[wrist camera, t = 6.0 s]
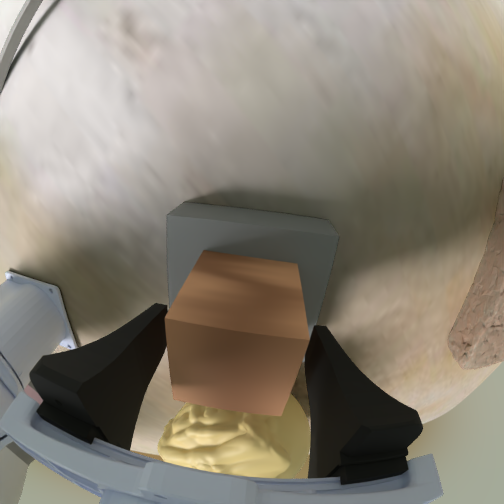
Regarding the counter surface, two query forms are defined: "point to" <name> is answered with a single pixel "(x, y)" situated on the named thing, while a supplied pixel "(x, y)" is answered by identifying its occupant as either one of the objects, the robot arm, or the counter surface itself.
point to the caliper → (16, 36)
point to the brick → (483, 306)
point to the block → (237, 334)
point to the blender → (15, 463)
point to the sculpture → (238, 441)
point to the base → (252, 245)
